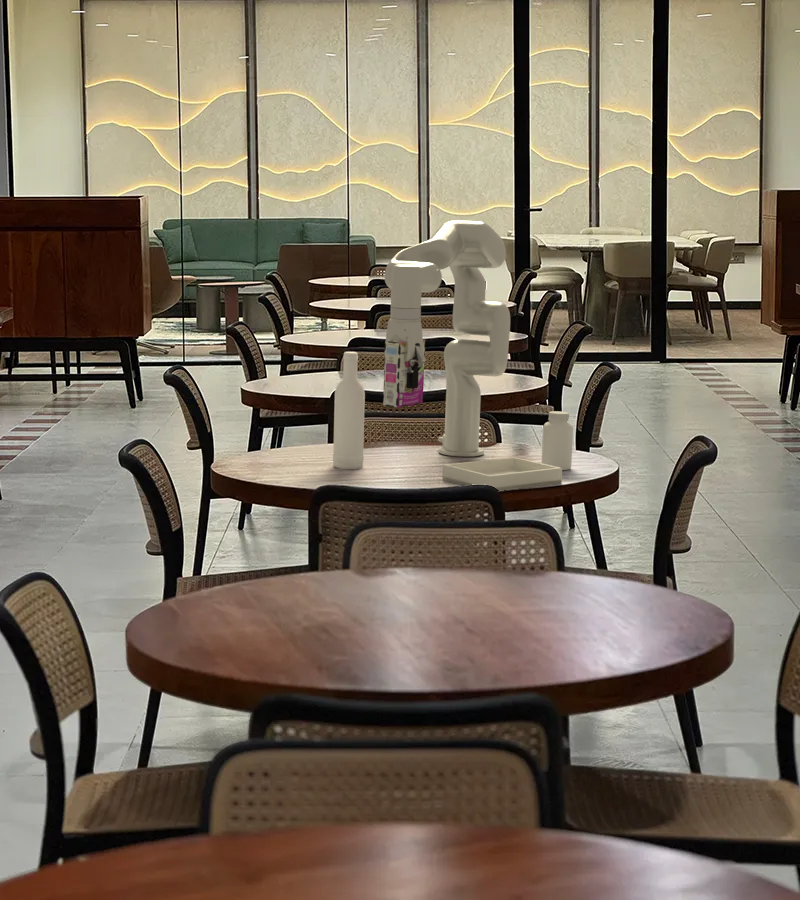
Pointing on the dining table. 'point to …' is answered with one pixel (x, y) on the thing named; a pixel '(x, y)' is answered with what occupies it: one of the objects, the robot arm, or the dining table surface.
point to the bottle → (349, 417)
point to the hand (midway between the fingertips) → (404, 385)
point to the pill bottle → (557, 440)
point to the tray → (503, 473)
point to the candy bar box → (400, 377)
